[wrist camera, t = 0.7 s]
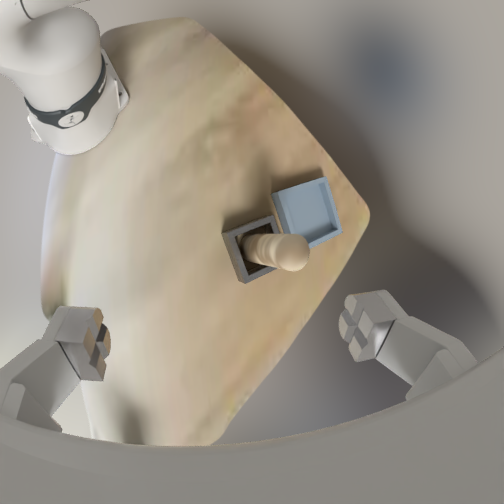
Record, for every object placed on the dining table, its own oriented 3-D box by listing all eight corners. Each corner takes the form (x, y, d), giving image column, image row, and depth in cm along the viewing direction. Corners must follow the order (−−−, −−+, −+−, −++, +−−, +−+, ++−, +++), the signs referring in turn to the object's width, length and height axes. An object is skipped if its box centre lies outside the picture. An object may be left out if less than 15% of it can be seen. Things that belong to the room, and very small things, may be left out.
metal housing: (221, 233, 47) (226, 233, 44) (265, 215, 50) (273, 214, 47) (238, 280, 49) (245, 283, 46) (280, 261, 52) (288, 262, 49)
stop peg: (235, 239, 48) (273, 241, 35) (259, 229, 50) (303, 228, 37) (244, 266, 49) (284, 277, 36) (268, 255, 51) (313, 262, 38)
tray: (270, 193, 50) (277, 191, 48) (318, 178, 54) (326, 176, 52) (290, 253, 53) (297, 254, 50) (334, 232, 57) (342, 232, 54)
